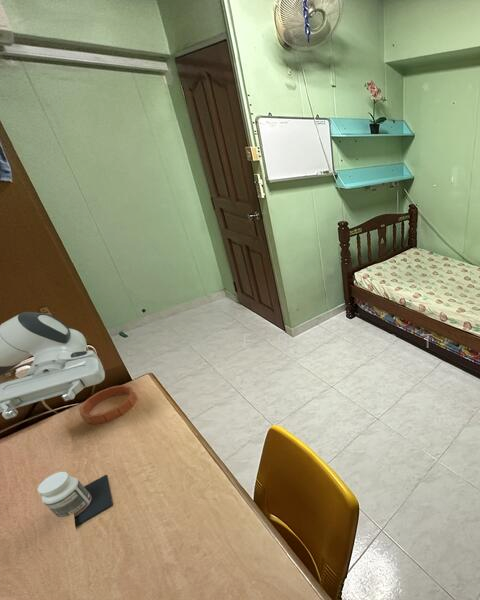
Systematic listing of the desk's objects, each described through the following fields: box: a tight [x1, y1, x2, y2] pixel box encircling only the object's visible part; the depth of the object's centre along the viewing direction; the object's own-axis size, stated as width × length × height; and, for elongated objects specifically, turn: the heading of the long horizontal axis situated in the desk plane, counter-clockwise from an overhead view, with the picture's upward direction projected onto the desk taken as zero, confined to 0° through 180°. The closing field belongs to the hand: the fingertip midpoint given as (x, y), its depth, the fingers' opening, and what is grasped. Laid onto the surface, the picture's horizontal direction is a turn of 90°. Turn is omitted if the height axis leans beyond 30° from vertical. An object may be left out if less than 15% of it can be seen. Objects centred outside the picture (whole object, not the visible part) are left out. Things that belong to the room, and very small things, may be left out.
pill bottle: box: [37, 471, 91, 518], centre depth 69 cm, size 6×6×10 cm
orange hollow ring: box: [78, 384, 138, 425], centre depth 96 cm, size 13×13×3 cm
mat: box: [73, 474, 114, 528], centre depth 71 cm, size 12×10×1 cm
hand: (39, 406), depth 70 cm, fingers open, 8 cm apart
